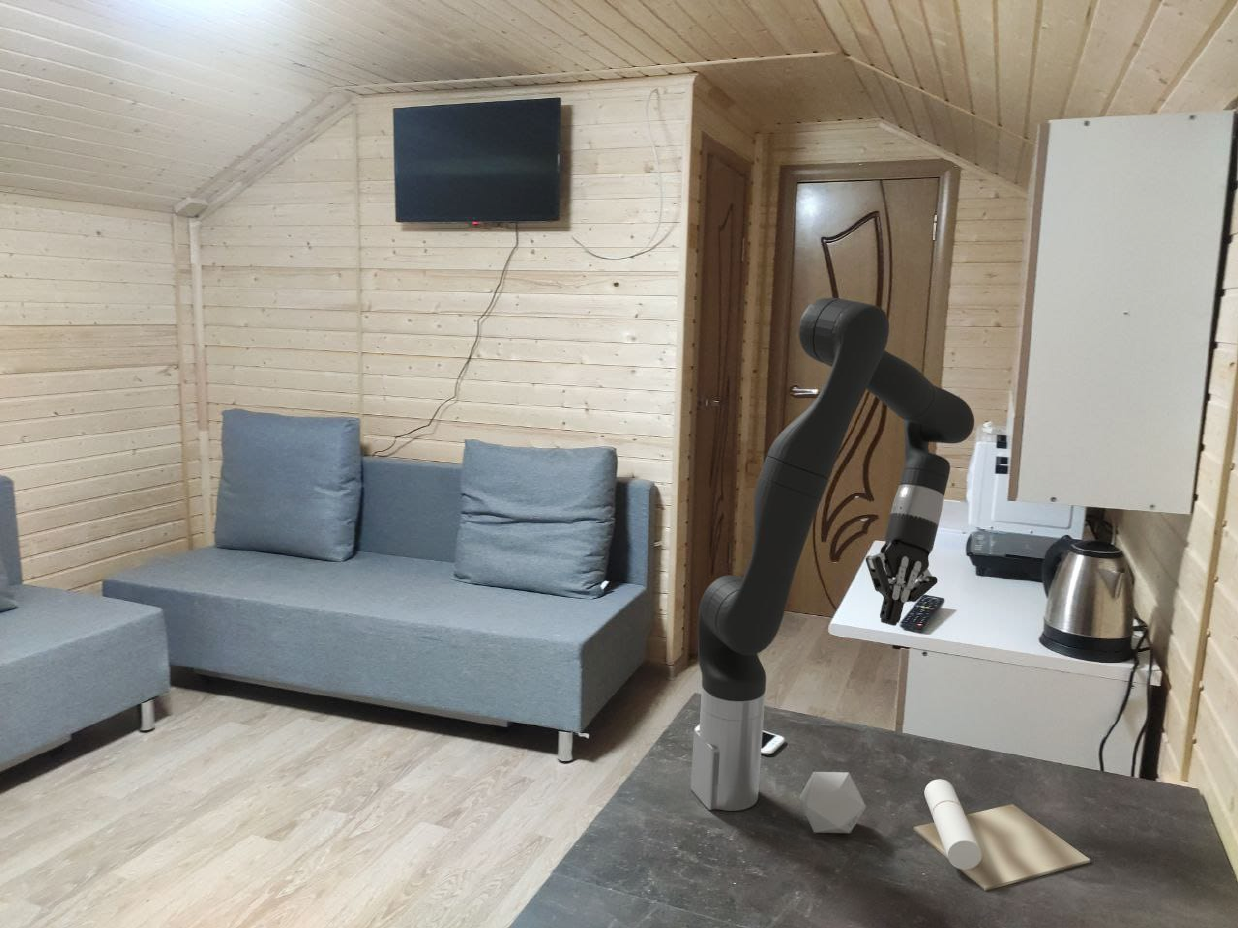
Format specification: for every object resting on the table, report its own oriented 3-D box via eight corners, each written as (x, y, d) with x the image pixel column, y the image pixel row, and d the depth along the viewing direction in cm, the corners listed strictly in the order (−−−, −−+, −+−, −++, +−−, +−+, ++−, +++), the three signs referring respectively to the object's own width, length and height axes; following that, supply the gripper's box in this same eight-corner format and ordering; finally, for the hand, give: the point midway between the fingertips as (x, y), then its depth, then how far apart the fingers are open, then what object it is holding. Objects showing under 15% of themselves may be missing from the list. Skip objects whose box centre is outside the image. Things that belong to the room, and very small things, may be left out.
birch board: (985, 890, 119) (985, 887, 119) (913, 829, 132) (913, 826, 132) (1089, 861, 126) (1090, 859, 126) (1012, 806, 139) (1012, 803, 138)
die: (848, 857, 126) (883, 795, 128) (794, 821, 127) (830, 759, 128) (832, 842, 134) (866, 784, 136) (782, 808, 135) (816, 750, 136)
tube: (921, 782, 137) (944, 843, 122) (950, 776, 136) (977, 837, 122) (928, 808, 138) (951, 872, 123) (957, 802, 137) (984, 866, 122)
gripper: (896, 505, 143) (868, 615, 140) (963, 530, 147) (937, 638, 144) (866, 505, 150) (839, 610, 147) (931, 529, 154) (906, 632, 151)
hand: (888, 623), depth 146 cm, fingers closed
